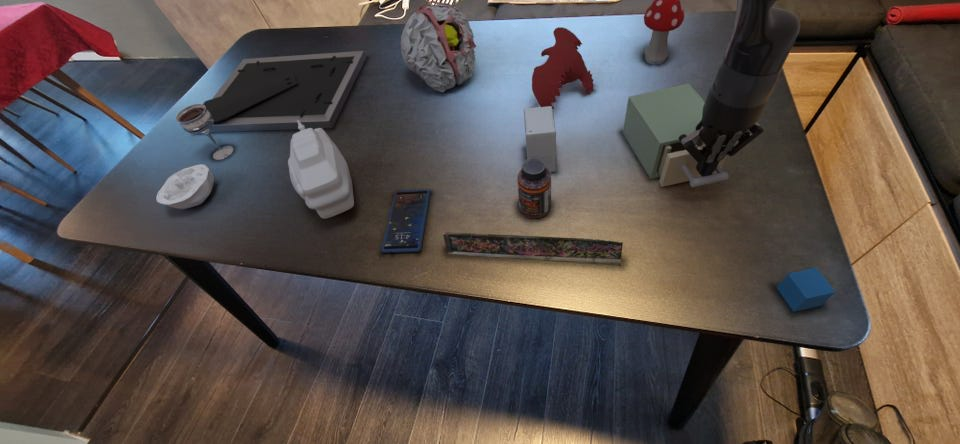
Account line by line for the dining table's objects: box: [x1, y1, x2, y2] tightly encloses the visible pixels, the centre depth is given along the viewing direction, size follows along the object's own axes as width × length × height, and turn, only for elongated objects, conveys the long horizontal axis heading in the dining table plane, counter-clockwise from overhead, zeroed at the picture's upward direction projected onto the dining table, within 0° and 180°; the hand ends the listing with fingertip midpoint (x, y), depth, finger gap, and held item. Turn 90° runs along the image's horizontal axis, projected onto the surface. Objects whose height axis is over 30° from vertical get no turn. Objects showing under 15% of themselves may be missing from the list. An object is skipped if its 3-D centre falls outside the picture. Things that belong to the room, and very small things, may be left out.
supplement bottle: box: [516, 158, 552, 219], centre depth 76 cm, size 6×6×11 cm
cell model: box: [155, 163, 215, 210], centre depth 93 cm, size 10×12×7 cm
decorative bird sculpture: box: [531, 26, 594, 110], centre depth 99 cm, size 28×9×15 cm
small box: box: [523, 105, 557, 173], centre depth 84 cm, size 8×6×10 cm
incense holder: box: [442, 231, 624, 266], centre depth 72 cm, size 30×1×5 cm, turn 81°
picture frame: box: [202, 50, 367, 134], centre depth 116 cm, size 31×4×39 cm
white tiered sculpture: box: [287, 120, 355, 220], centre depth 83 cm, size 11×18×16 cm, turn 24°
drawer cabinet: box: [622, 83, 705, 180], centre depth 82 cm, size 14×12×9 cm
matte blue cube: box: [776, 267, 836, 313], centre depth 62 cm, size 4×4×4 cm
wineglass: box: [175, 103, 234, 161], centre depth 100 cm, size 7×7×12 cm
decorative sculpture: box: [399, 0, 477, 93], centre depth 107 cm, size 19×21×20 cm
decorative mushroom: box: [643, 0, 685, 66], centre depth 99 cm, size 10×9×15 cm
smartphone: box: [380, 189, 431, 254], centre depth 83 cm, size 8×1×15 cm
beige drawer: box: [657, 138, 729, 188], centre depth 78 cm, size 18×11×7 cm, turn 10°
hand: (704, 172), depth 74 cm, fingers closed
